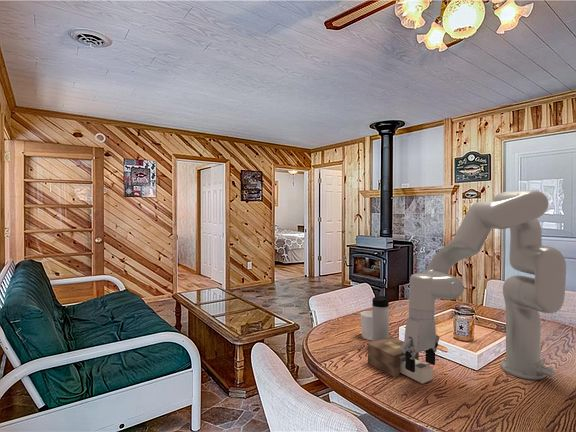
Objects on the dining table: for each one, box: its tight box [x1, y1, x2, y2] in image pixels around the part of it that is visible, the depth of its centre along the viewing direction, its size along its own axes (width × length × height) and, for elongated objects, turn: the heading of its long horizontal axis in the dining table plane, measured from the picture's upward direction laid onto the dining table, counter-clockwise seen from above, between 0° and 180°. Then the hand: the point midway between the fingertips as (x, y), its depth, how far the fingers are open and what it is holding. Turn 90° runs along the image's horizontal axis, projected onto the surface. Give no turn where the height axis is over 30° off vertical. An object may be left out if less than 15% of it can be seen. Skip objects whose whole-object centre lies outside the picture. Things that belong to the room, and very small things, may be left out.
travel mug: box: [371, 295, 391, 342], centre depth 135 cm, size 6×7×20 cm
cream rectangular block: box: [399, 359, 434, 385], centre depth 114 cm, size 14×5×4 cm, turn 31°
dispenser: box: [367, 335, 420, 378], centre depth 120 cm, size 13×12×7 cm
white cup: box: [360, 310, 372, 341], centre depth 146 cm, size 8×8×10 cm
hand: (420, 366), depth 110 cm, fingers open, 9 cm apart
